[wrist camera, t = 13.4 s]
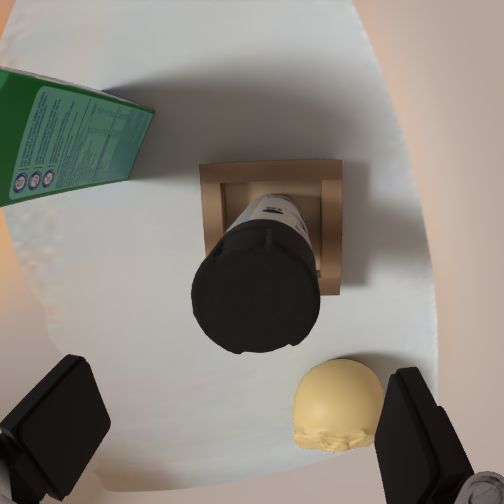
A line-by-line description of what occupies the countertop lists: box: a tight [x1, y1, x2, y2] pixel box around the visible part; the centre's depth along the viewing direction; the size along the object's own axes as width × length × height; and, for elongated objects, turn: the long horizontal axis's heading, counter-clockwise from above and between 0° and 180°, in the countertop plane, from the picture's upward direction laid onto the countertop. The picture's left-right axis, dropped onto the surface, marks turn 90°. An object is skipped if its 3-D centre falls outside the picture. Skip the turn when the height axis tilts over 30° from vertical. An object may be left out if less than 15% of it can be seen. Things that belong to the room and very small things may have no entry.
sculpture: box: [293, 359, 384, 452], centre depth 36 cm, size 11×12×11 cm
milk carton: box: [0, 66, 155, 207], centre depth 23 cm, size 9×9×25 cm
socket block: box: [199, 160, 342, 296], centre depth 34 cm, size 14×14×4 cm
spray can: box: [191, 194, 320, 354], centre depth 25 cm, size 7×7×20 cm
